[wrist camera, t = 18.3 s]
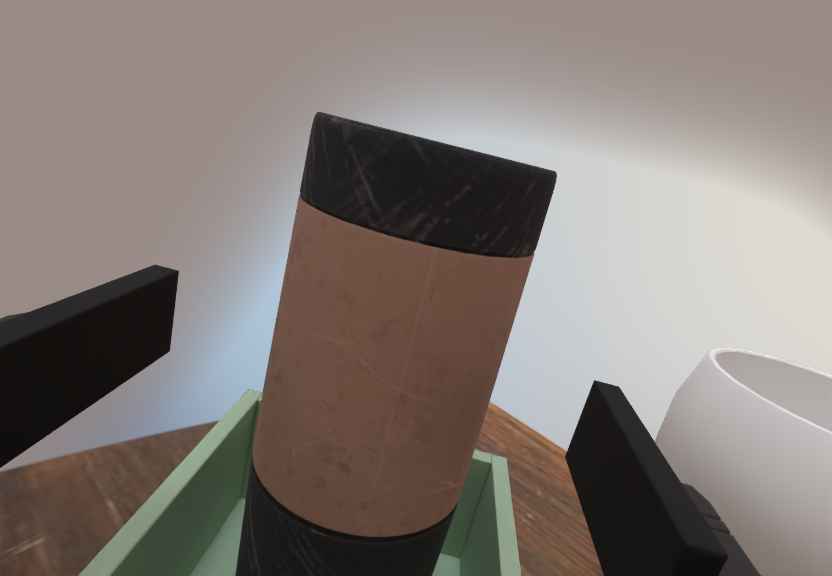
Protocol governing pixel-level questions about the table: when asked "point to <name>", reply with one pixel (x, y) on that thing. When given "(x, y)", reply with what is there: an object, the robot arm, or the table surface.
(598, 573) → the table surface
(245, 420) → the bin
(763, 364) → the cup
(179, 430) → the table surface
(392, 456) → the travel mug
